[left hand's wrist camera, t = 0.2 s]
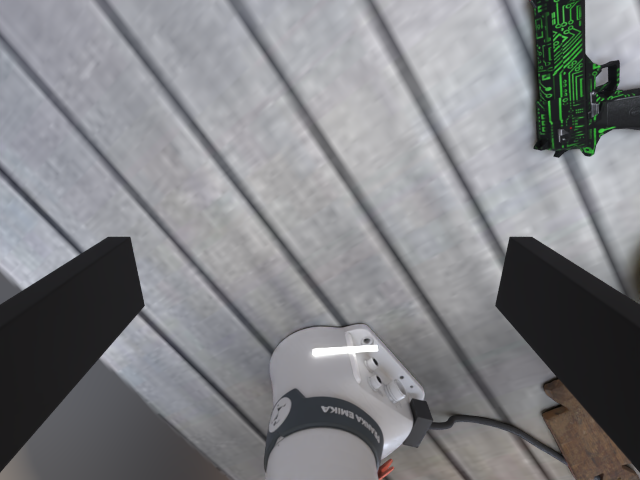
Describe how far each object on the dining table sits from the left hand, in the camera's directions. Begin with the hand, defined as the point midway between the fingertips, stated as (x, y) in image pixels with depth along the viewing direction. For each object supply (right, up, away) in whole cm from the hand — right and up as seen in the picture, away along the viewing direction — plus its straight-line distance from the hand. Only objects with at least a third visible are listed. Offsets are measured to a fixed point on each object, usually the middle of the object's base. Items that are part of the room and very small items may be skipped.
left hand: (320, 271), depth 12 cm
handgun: (+28, +18, +23) cm, 40 cm away
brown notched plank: (+41, -28, +41) cm, 64 cm away
